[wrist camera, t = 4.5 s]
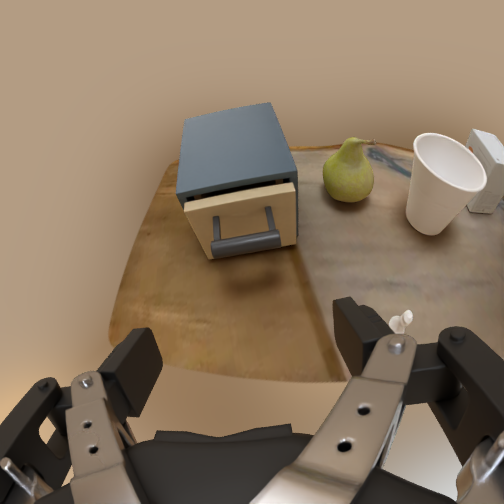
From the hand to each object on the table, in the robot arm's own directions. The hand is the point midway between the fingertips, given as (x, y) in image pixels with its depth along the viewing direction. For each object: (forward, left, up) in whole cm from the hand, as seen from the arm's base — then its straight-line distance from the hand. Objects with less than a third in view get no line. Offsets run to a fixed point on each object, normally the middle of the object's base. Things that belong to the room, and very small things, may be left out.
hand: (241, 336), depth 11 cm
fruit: (-14, -21, -17) cm, 30 cm away
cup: (-24, -15, -17) cm, 33 cm away
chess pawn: (-14, -2, -17) cm, 22 cm away
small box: (-37, -18, -17) cm, 44 cm away
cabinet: (0, -23, -17) cm, 28 cm away
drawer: (0, -19, -16) cm, 24 cm away
